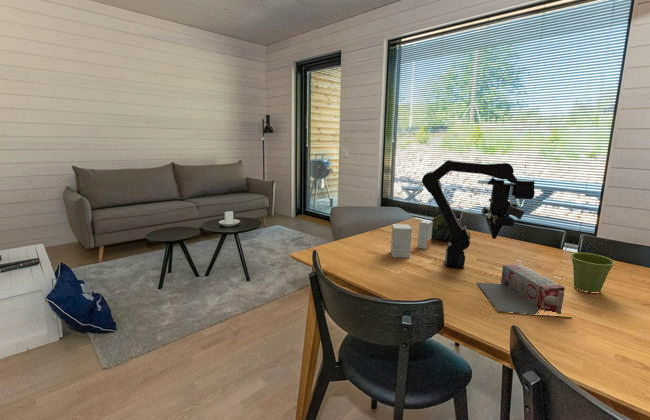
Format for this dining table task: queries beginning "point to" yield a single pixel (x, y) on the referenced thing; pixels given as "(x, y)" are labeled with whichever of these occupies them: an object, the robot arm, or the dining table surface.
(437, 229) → the squash
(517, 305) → the mat
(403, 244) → the supplement box
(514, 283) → the juice carton
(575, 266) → the plant pot
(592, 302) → the dining table surface
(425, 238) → the skincare box
